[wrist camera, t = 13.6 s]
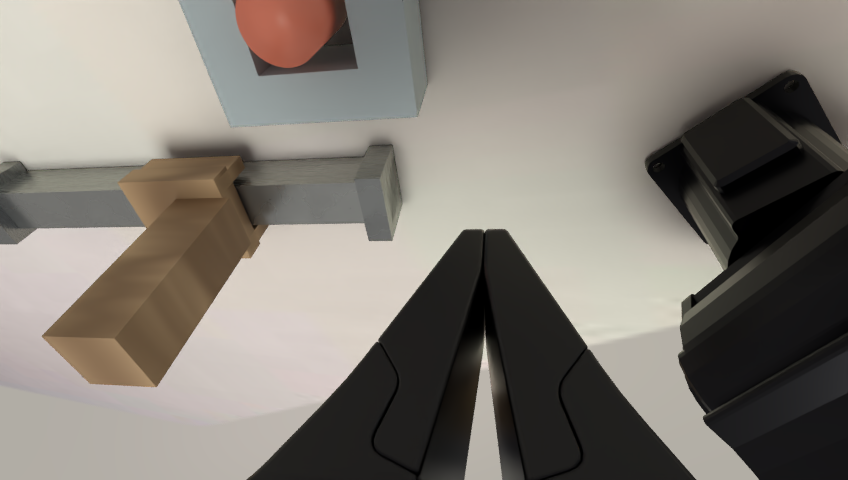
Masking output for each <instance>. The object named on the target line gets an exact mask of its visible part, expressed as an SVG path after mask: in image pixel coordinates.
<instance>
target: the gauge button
mask: <svg viewBox="0 0 848 480" xmlns="http://www.w3.org/2000/svg"><path fill="white" fill-rule="evenodd" d="M235 13H236V21H237V25H238V28H239V31H240V33H241V35H242V37H243V39H244V41H245V42H246V44H247V45H248V46H249V48H250V49H251V50H252V51H253V52H254V53H255V54H256V55H257V56H259V57H260V58H261V59H263V60H264V61H266V62H268V63H269V64H272V65H274V66H278V67H283V68H293V67H297V66H300V65H302V64H304V63H306V62H307V61H308V60H309V59H310V58H311V57H312V56H313V55H314V54H315V53H316V52H317V51H318V50H319V49H320V48H321V47H322V46H323V45H324V44H325V43H326V42H327V41H328V40H329V39H330V38H331V37H332V36H333V35H334V34H335V33H336V32H337V31H338V30H339V29H340V28H341V27H342V26H343V24H344V22H345V20H346V17H347V11H346V6H345V1H344V0H236V7H235Z"/></svg>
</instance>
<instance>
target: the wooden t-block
mask: <svg viewBox="0 0 848 480" xmlns="http://www.w3.org/2000/svg"><path fill="white" fill-rule="evenodd" d="M244 168H245V166H244V164H243V162H242V159H241V157H240V156H219V157H196V158H173V159H152V160H151V161H149V162H148V163H147V164H146V165H145V166H143V167H142V168H141V169H140V170H132V171H131V172H130V173H129V174H127V175H126V176H125V177H124V178H122V179H121V180H120V181H119V182H118V185H119V186H120V188H121V189H122V191H123V192H124V194H125V196H126V197H127V199H128V200H129V202H130V203H131V205H132V207H133V208H134V210H135V211H136V213H137V214H138V216H139V218H140V219H141V221H142V222H143V224H144V225H145V227H146V228H147V229H146V230H145V231H144V232H143V233H142V234H141V235H140V236H139V237H138V238H137V239H136V240H135V241H134V242H133V244H132V245H131V246H130V247H129V248H128V249H127V250H126V251H125V252H124V253H123V254H122V255H121V256H120V257H119V258H118V259H117V260H116V261H115V262H114V263H113V264H112V265H111V266H110V267H109V268H108V269H107V270H106V271H105V272H104V273H103V274H102V275H101V276H100V277H99V278H98V279H97V280H96V281H95V282H94V283H93V284H92V285H91V286H90V287H89V288H88V289H87V290H86V291H85V292H84V293H83V295H82V296H81V297H80V298H79V299H78V300H77V301H76V302H75V303H74V304H73V305H72V306H71V307H70V308H69V309H68V310H67V311H66V312H65V313H64V314H63V315H62V316H61V317H60V318H59V319H58V320H57V321H56V322H55V323H54V324H53V325H52V326H51V327H50V328H49V329H48V330H47V331H46V332H45V333H44V334H43V335H42V337H43V338H44V339H45V340H46V341H47V342H48V343H49V344H50V345H51V346H52V347H53V348H54V349H55V350H56V351H57V352H58V353H59V354H60V355H61V356H62V357H63V358H64V359H65V360H66V361H67V362H68V363H69V364H70V365H71V366H72V367H73V368H75V369H76V370H77V371H78V372H79V373H80V374H81V375H82V376H83V377H84V378H85V379H86V380H87V381H88V382H89V383H90V384H104V385H124V386H143V387H157V386H158V384H159V383H160V381H161V380H162V378H163V377H164V375H165V374H166V372H167V371H168V369H169V368H170V366H171V364H172V363H173V361H174V360H175V358H176V357H177V355H178V354H179V352H180V351H181V349H182V348H183V346H184V345H185V343H186V342H187V340H188V339H189V337H190V336H191V334H192V333H193V331H194V329H195V328H196V326H197V325H198V323H199V322H200V320H201V319H202V317H203V316H204V314H205V313H206V311H207V310H208V308H209V307H210V305H211V304H212V302H213V301H214V299H215V298H216V296H217V294H218V293H219V291H220V290H221V288H222V287H223V285H224V284H225V282H226V281H227V279H228V278H229V276H230V275H231V273H232V272H233V270H234V269H235V267H236V266H237V264H238V263H239V261H240V259H241V258H251V257H252V255H253V254H254V252H255V251H256V249H257V248H258V246H259V244H260V242H259V240H260V238H261V236H262V235H263V233H264V232H265V230H266V229H267V227H268V226H269V225H252V224H251V222H250V220H249V218H248V215H247V213H246V211H245V209H244V206H243V204H242V202H241V200H240V197H239V195H238V193H237V191H236V188H235V186H234V184H233V181H234V180H235V179H236V178H237V177H238V175H239V174H240V173H241V172H242V171H243V170H244Z"/></svg>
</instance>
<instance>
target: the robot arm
mask: <svg viewBox="0 0 848 480" xmlns="http://www.w3.org/2000/svg"><path fill="white" fill-rule="evenodd" d="M792 80H794V82H793V84H792V85H791V86H790V87H789V88H787V89H784V87H785V85H786V84H787V83H788V82H790V81H792ZM657 163H662V165H661V166H660V167H658V168H653V166H654V165H655V164H657ZM645 168H646V170H647V172H648V174H649V175H650V176H651V178H652V179H653V180H654V181H655V182H656V184H657V185H658V186H659V187H660V189H661V190H662V191H663V192H664V193H665V195H666V196H667V197H668V198H669V200H670V201H671V202H672V203H673V204H674V206H675V207H676V208H677V209H678V211H679V212H680V213H681V214H682V215H683V217H684V218H685V219H686V220H687V222H688V223H689V224H690V225H691V227H692V228H693V229H694V230H695V231H696V233H697V234H698V235H699V236H700V238H701V239H702V240H703V241H704V242H705V243H706V244H709V246H710V247H711V249H712V251H713V252H714V254H715V256H716V258H717V259H718V261H719V263H720V264H721V266H722V268H723V269H724V271H723V272H722V273H721V274H720V275H718V276H717V277H716V278H715V279H714V280H712V281H711V282H710V283H709V284H707V285H706V286H705V287H704V288H703V289H701V290H700V291H699V292H698V293H697V294H695V295H694V294H691V295H690V296H689V297H687V298H686V299H685V300H684V301H683V302H682V322H681V325H680V331H681V337H682V344H683V351H682V352H680V353H679V354H678V358H679V364H680V366H681V368H682V370H683V372H684V374H685V378H686V381H687V384H688V386H689V389H690V391H691V392H692V394H693V395H694V397H695V399H696V401H697V402H698V404H699V405H700V406H701V408H702V409H703V410H704V412H705V413H706V415H704V416H703V420H704V422H705V424H706V425H707V426H708V427H709V428H710V429H711V430H713V431H714V432H715V433H716V434H717V435H718V436H719V437H720V438H721V439H722V440H723V441H725V442H726V443H727V444H728V445H729V446H730V447H731V448H732V449H733V450H734V451H735V452H736V453H737V454H738V455H739V457H740V458H741V459H742V460H743V461H744V462H745V463H746V465H747V466H748V467H749V468H750V469H751V470H752V471H753V472H754V474H755V475H756V476H757V477H758V479H759V480H848V149H846V148H845V147H844V146H842V144H841V142H840V140H839V139H838V137H837V135H836V133H835V131H834V129H833V127H832V126H831V124H830V122H829V120H828V118H827V116H826V114H825V113H824V111H823V109H822V107H821V105H820V103H819V101H818V100H817V98H816V96H815V94H814V92H813V90H812V88H811V87H810V85H809V83H808V81H807V79H806V78H805V77H804V76H803V75H802V74H800V73H799V72H797V71H787V72H785V73H783V74H781V75H779V76H777V77H776V78H774V79H773V80H771V81H770V82H768V83H766V84H765V85H763V86H762V87H760V88H758V89H757V90H755V91H754V92H752V93H751V94H749V95H747V96H746V97H744V98H740V99H738V100H737V101H735V102H734V103H732V104H730V105H729V106H727V107H726V108H724V109H723V110H721V111H719V112H718V113H716V114H715V115H713V116H711V117H710V118H708V119H707V120H705V121H704V122H702V123H700V124H699V125H697V126H696V127H694V128H693V129H691V130H689V131H688V132H686V133H685V134H684V135H683V136H682V137H681V138H679V139H678V140H676V141H674V142H673V143H671V144H670V145H668V146H667V147H665V148H663V149H662V150H660V151H659V152H657V153H655V154H654V155H652V156H651V157H650V158H648V159H647V161H646V163H645ZM485 336H486V348H487V357H488V365H489V372H490V380H491V390H492V397H493V406H494V414H495V422H496V430H497V439H498V446H499V455H500V463H501V471H502V480H696V479H695V478H694V477H693V476H692V474H691V473H690V472H689V471H688V470H687V469H686V468H685V466H684V465H683V464H682V463H681V462H680V461H679V460H678V459H677V457H676V456H675V455H674V454H673V453H672V452H671V451H670V449H669V448H668V447H667V446H666V445H665V444H664V443H663V442H662V440H661V439H660V438H659V437H658V436H657V435H656V433H655V432H654V431H653V430H652V429H651V428H650V427H649V426H648V424H647V423H646V422H645V421H644V420H643V419H642V417H641V416H640V415H639V414H638V413H637V411H636V410H635V409H634V408H633V407H632V406H631V404H630V403H629V402H628V401H627V399H626V398H625V397H624V396H623V395H622V393H621V392H620V391H619V390H618V388H617V387H616V385H615V384H614V383H613V381H612V380H611V379H610V377H609V376H608V375H607V373H606V372H605V371H604V369H603V368H602V366H601V365H600V364H599V362H598V361H597V359H596V358H595V356H594V355H593V353H592V352H591V351H590V350H589V349H587V345H586V344H585V342H584V341H583V339H582V338H581V336H580V335H579V334H578V332H577V331H576V329H575V328H574V326H573V325H572V323H571V322H570V321H569V319H568V318H567V316H566V315H565V313H564V312H563V310H562V309H561V308H560V306H559V305H558V303H557V302H556V300H555V299H554V297H553V296H552V295H551V293H550V292H549V290H548V289H547V287H546V286H545V284H544V283H543V282H542V280H541V279H540V277H539V276H538V274H537V273H536V271H535V270H534V269H533V267H532V266H531V264H530V263H529V261H528V260H527V258H526V257H525V256H524V254H523V253H522V251H521V250H520V248H519V247H518V245H517V244H516V243H515V241H514V240H513V238H512V237H511V235H510V234H509V233H508V231H507V230H505V229H487V230H486V231H485V233H484V231H483V230H482V229H466V230H463V231H462V232H461V234H460V235H459V236H458V237H457V239H456V240H455V241H454V243H453V244H452V245H451V246H450V248H449V249H448V250H447V252H446V253H445V254H444V255H443V257H442V258H441V259H440V261H439V262H438V263H437V264H436V266H435V267H434V268H433V270H432V271H431V272H430V273H429V275H428V276H427V277H426V279H425V280H424V281H423V282H422V284H421V285H420V286H419V288H418V289H417V290H416V292H415V293H414V294H413V295H412V297H411V298H410V299H409V301H408V302H407V303H406V304H405V306H404V307H403V308H402V310H401V311H400V312H399V313H398V315H397V316H396V317H395V319H394V320H393V321H392V322H391V324H390V325H389V326H388V328H387V329H386V330H385V331H384V333H383V334H382V335H381V337H380V338H379V339H378V341H379V342H376V343H375V344H374V345H373V346H372V348H371V349H370V350H369V352H368V353H367V354H366V356H365V357H364V358H363V359H362V361H361V362H360V363H359V364H358V365H357V367H356V368H355V369H354V370H353V371H352V373H351V374H350V375H349V376H348V377H347V379H346V380H345V381H344V382H343V383H342V384H341V385H340V386H339V387H338V388H337V389H336V390H335V392H334V393H333V394H332V395H331V396H330V397H329V398H328V399H327V400H326V401H325V402H324V403H323V404H322V406H320V408H319V409H318V410H317V411H316V412H315V413H314V414H313V415H312V416H311V417H310V418H309V419H308V420H307V421H306V422H305V423H304V424H303V425H302V426H301V427H300V428H299V429H298V430H297V431H296V432H295V433H294V434H293V435H292V436H291V437H290V438H289V439H288V440H287V442H285V443H284V444H283V445H282V447H281V448H279V450H278V451H277V452H276V453H275V454H274V455H273V456H272V457H271V458H270V459H269V460H268V461H267V462H266V463H265V464H264V465H263V466H262V467H261V468H260V469H258V470H257V471H256V472H255V473H254V474H253V475H252V476H250V477H249V478H248V479H247V480H464V477H465V470H466V463H467V456H468V450H469V443H470V436H471V429H472V422H473V415H474V409H475V402H476V395H477V388H478V381H479V374H480V368H481V361H482V354H483V347H484V338H485Z"/></svg>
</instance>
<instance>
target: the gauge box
mask: <svg viewBox="0 0 848 480" xmlns="http://www.w3.org/2000/svg"><path fill="white" fill-rule="evenodd" d="M344 1H345V6H346V11H347V16H348V21H349V26H350V31H351V36H352V41H353V44H344V45H332V46H322V47H321V48H320V49H319V50H318V51H317V52H316V53H315V54H314V55H313V56H312V57H311V58H310V59H309V60H308V61H307V62H306V63H304V64H302V65H300V66H297V67H293V68H283V67H278V66H274V65H272V64H269V63H268V62H266V61H264V60H263V59H261V58H260V57H259V56H257V55H256V54H255V53H254V52H253V51H252V50H251V49H250V48H249V46H248V45H247V44H246V42H245V41H244V39H243V37H242V35H241V33H240V31H239V28H238V25H237V21H236V13H235V7H236V0H179V3H180V5H181V8H182V10H183V13H184V15H185V17H186V20H187V22H188V25H189V27H190V30H191V32H192V34H193V37H194V39H195V42H196V44H197V47H198V49H199V51H200V54H201V56H202V59H203V61H204V64H205V66H206V69H207V71H208V73H209V76H210V78H211V81H212V83H213V86H214V88H215V90H216V93H217V95H218V98H219V100H220V103H221V105H222V107H223V110H224V112H225V115H226V117H227V120H228V122H229V124H230V127H246V126H264V125H282V124H300V123H319V122H337V121H355V120H373V119H391V118H410V117H418V114H419V111H420V107H421V104H422V101H423V98H424V95H425V91H426V88H427V85H428V84H427V75H426V65H425V56H424V46H423V36H422V27H421V17H420V8H419V0H344Z"/></svg>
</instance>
